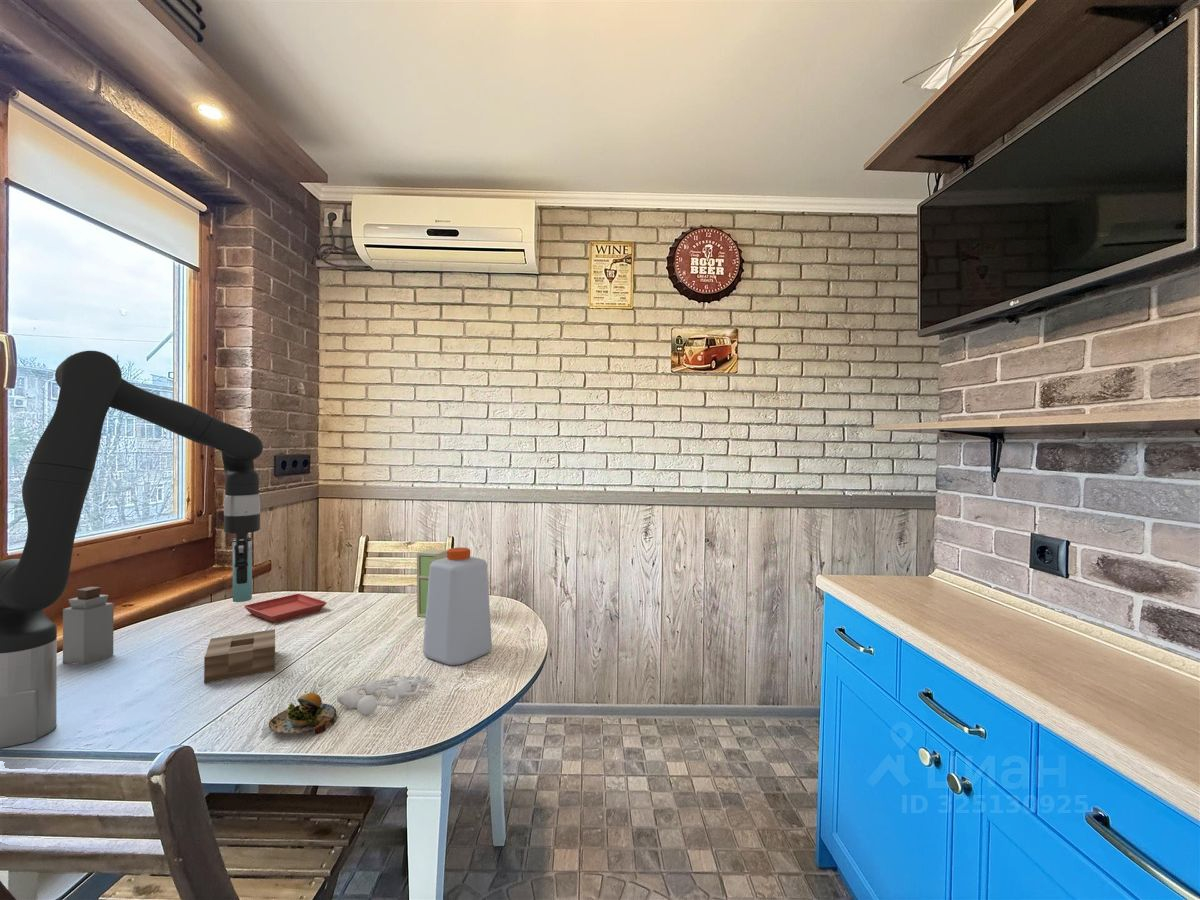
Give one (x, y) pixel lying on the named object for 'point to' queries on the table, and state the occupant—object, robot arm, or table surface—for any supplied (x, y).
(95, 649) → the perfume bottle
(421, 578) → the toy refrigerator
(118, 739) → the table surface
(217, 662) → the bore block
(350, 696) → the tangled rod sculpture
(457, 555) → the plastic bottle
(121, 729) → the table surface
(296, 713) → the burger
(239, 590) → the pin
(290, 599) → the plant saucer
